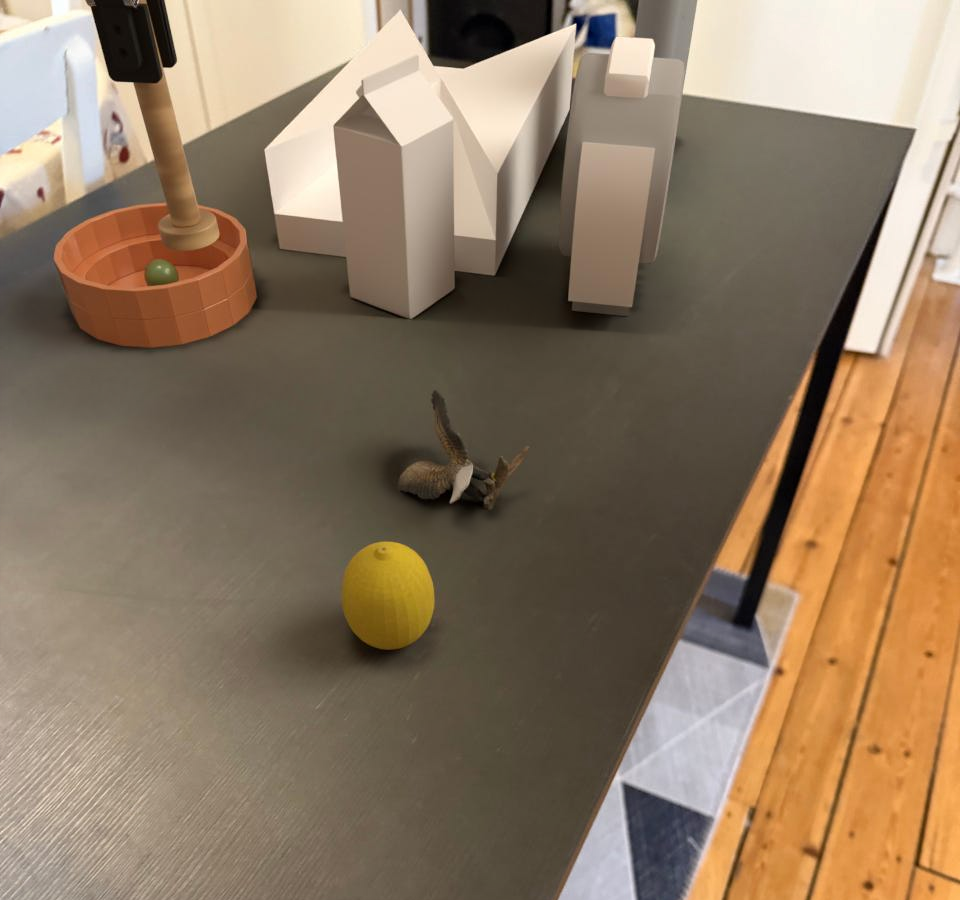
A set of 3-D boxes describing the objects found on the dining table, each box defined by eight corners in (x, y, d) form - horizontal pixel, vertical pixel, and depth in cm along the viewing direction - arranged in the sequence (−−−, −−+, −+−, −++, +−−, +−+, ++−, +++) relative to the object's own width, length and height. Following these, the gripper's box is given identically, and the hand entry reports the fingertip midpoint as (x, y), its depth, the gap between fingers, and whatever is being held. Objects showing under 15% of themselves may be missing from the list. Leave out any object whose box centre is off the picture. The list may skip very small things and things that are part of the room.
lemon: (334, 663, 57) (319, 570, 51) (367, 601, 60) (357, 507, 54) (418, 684, 56) (413, 592, 50) (447, 620, 59) (446, 527, 53)
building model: (494, 275, 89) (497, 173, 82) (279, 248, 92) (264, 148, 85) (569, 109, 118) (576, 23, 111) (404, 93, 121) (400, 8, 114)
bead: (133, 264, 83) (142, 290, 82) (159, 246, 82) (169, 272, 81) (154, 280, 86) (163, 306, 85) (180, 263, 85) (189, 289, 84)
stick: (152, 249, 64) (69, -29, 52) (176, 223, 66) (102, -47, 54) (206, 253, 63) (135, -27, 51) (228, 227, 66) (165, -46, 54)
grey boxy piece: (571, 239, 94) (592, 7, 79) (654, 246, 93) (691, 14, 78) (549, 329, 83) (568, 78, 67) (644, 339, 82) (684, 87, 67)
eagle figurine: (538, 466, 68) (443, 405, 70) (524, 431, 61) (419, 364, 63) (477, 550, 68) (384, 486, 70) (457, 524, 61) (354, 454, 63)
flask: (638, 141, 111) (673, -124, 93) (675, 146, 111) (718, -120, 92) (605, 199, 101) (637, -87, 82) (647, 206, 100) (689, -82, 81)
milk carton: (455, 290, 87) (453, 63, 73) (410, 322, 83) (398, 89, 69) (396, 268, 90) (382, 46, 75) (349, 298, 86) (326, 70, 72)
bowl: (47, 349, 80) (22, 283, 75) (114, 260, 90) (96, 198, 86) (230, 361, 79) (216, 295, 74) (276, 270, 89) (266, 207, 85)
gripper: (33, -371, 49) (130, 31, 62) (-126, -362, 38) (33, 118, 52) (171, -369, 48) (238, 35, 62) (48, -360, 38) (162, 124, 52)
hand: (144, 70), depth 57 cm, fingers closed on stick, 2 cm apart
